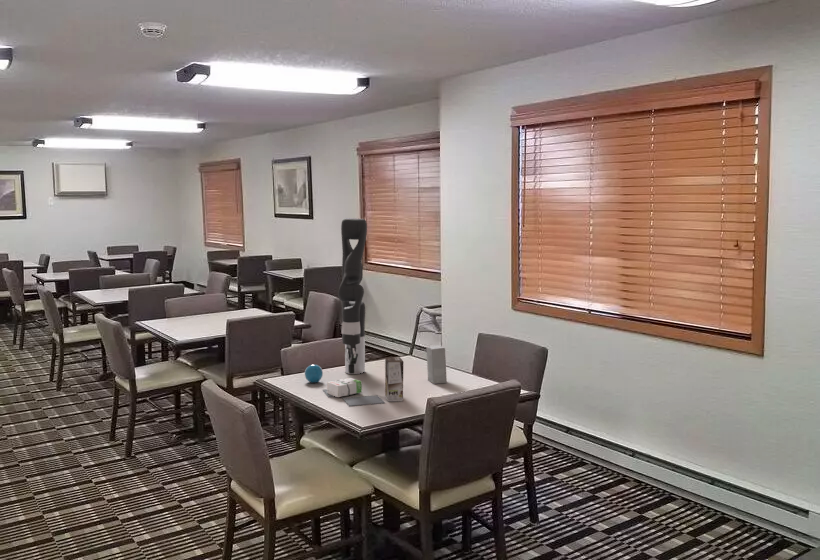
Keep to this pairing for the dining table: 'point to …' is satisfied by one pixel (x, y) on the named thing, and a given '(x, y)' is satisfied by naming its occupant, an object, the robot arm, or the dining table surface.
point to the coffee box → (394, 379)
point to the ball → (313, 373)
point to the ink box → (344, 387)
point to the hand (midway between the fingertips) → (351, 373)
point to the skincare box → (436, 364)
